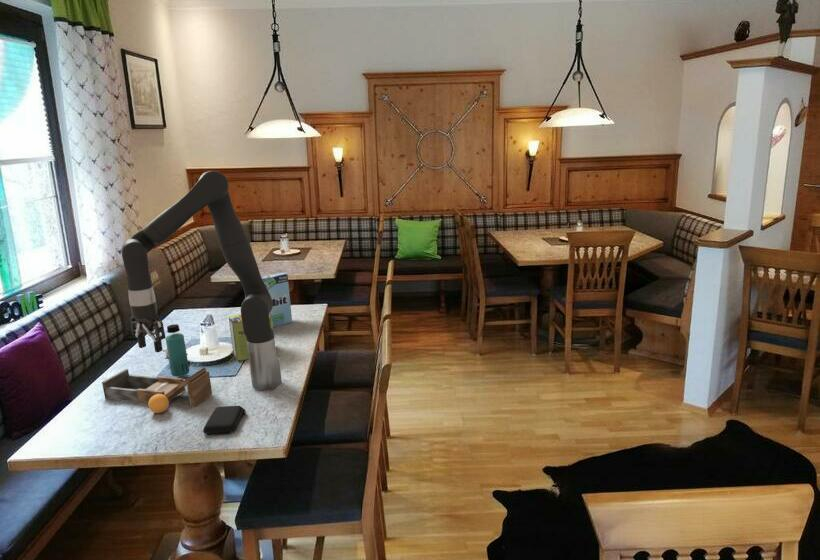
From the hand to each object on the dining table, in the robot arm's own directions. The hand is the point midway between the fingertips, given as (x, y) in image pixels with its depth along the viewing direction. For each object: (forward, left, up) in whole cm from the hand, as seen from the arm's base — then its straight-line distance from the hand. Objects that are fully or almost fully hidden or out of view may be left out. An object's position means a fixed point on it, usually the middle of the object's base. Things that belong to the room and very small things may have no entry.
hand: (150, 349), depth 188 cm
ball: (-5, +6, -16) cm, 18 cm away
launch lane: (+4, -4, -19) cm, 20 cm away
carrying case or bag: (-30, +7, -20) cm, 37 cm away
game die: (+17, -31, -19) cm, 41 cm away
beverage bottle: (+6, -19, -19) cm, 28 cm away
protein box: (-9, -45, -19) cm, 50 cm away
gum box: (+1, -76, -19) cm, 79 cm away
